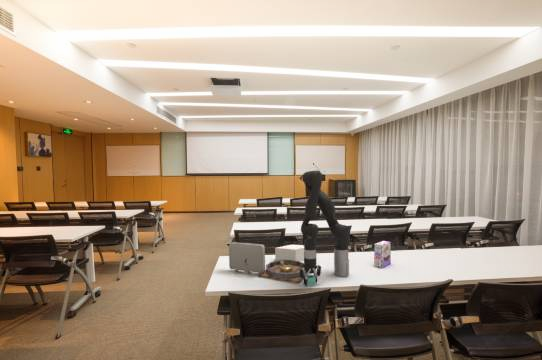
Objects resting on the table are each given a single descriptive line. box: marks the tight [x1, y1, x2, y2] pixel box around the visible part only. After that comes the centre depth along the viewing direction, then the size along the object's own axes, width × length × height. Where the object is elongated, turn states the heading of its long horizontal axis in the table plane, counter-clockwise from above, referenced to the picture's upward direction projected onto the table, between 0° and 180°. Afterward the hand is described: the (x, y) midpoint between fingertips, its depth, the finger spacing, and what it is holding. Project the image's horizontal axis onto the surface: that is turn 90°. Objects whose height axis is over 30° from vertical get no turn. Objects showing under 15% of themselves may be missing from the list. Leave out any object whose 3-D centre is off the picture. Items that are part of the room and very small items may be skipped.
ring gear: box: [265, 260, 305, 279], centre depth 184 cm, size 27×27×3 cm
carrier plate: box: [258, 261, 304, 285], centre depth 184 cm, size 28×28×6 cm
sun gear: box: [280, 265, 293, 273], centre depth 184 cm, size 9×9×2 cm
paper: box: [274, 244, 304, 262], centre depth 212 cm, size 14×29×10 cm, turn 96°
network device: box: [228, 241, 266, 277], centre depth 186 cm, size 26×9×20 cm, turn 68°
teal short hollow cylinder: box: [305, 274, 317, 288], centre depth 164 cm, size 6×6×5 cm
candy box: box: [373, 240, 392, 269], centre depth 195 cm, size 14×6×16 cm, turn 131°
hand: (310, 283), depth 164 cm, fingers closed on teal short hollow cylinder, 6 cm apart
